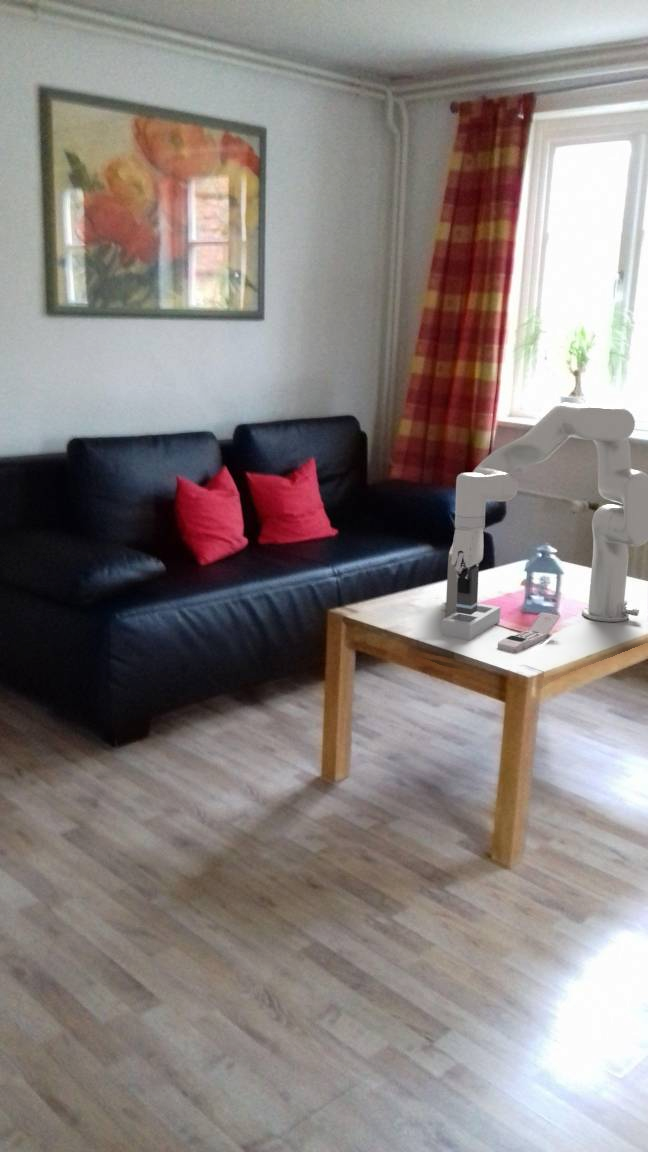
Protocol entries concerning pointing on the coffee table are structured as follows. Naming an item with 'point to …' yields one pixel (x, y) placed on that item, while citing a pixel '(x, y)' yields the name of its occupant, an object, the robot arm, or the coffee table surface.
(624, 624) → the coffee table surface
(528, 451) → the robot arm
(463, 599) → the plug
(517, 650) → the mobile phone
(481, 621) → the socket block
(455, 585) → the network device
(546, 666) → the coffee table surface
